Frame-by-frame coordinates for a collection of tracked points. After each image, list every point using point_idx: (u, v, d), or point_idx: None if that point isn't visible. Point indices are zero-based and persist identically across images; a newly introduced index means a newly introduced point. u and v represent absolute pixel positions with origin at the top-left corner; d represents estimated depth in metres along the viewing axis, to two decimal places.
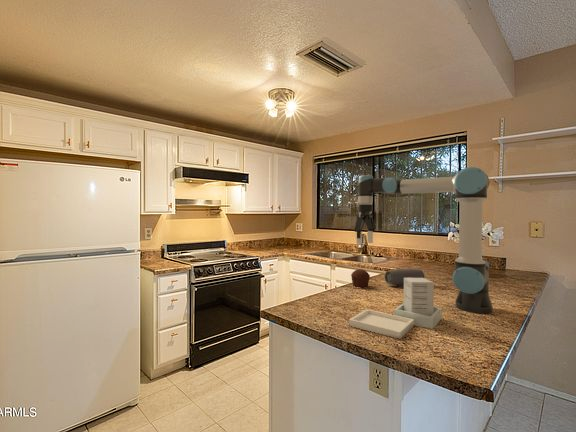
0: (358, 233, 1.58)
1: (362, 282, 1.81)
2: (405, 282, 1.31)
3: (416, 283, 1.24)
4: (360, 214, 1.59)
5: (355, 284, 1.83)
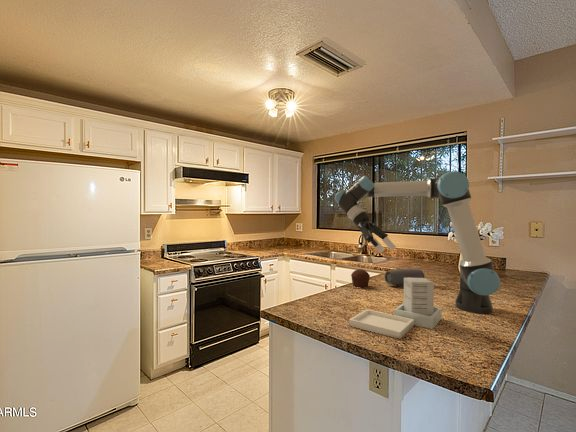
0: (372, 241, 1.35)
1: (362, 282, 1.81)
2: (405, 282, 1.31)
3: (416, 283, 1.24)
4: (360, 224, 1.40)
5: (355, 284, 1.83)
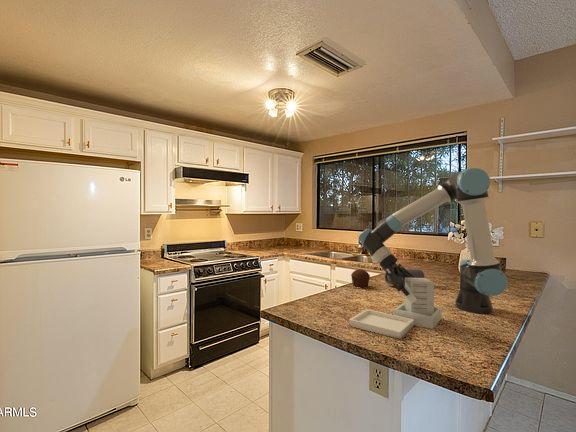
0: (403, 289, 1.24)
1: (362, 282, 1.81)
2: (406, 282, 1.31)
3: (416, 283, 1.24)
4: (388, 269, 1.29)
5: (355, 284, 1.83)
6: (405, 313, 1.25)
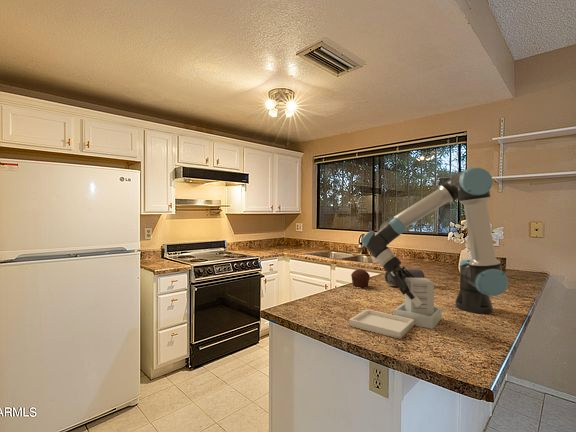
0: (408, 293, 1.23)
1: (362, 282, 1.81)
2: (406, 282, 1.31)
3: (416, 283, 1.24)
4: (393, 272, 1.29)
5: (355, 284, 1.83)
6: (405, 313, 1.25)
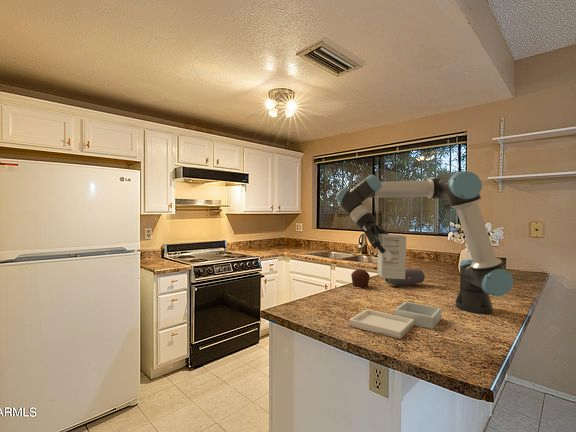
0: (379, 246, 1.18)
1: (362, 282, 1.81)
2: (379, 238, 1.26)
3: (387, 236, 1.19)
4: (365, 227, 1.24)
5: (355, 284, 1.83)
6: (405, 313, 1.25)
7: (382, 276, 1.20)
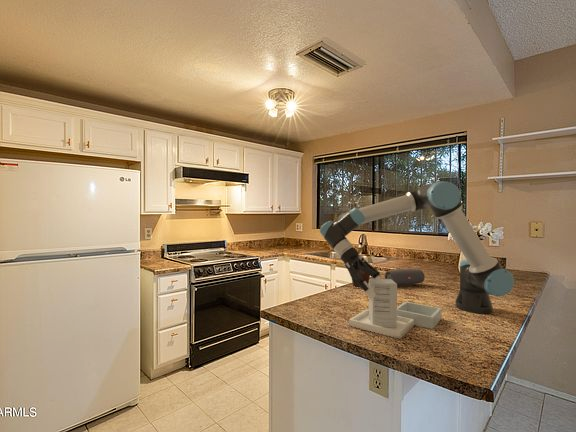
0: (362, 284, 1.17)
1: None
2: (370, 283, 1.24)
3: (378, 284, 1.17)
4: (348, 263, 1.22)
5: None
6: (405, 313, 1.25)
7: None
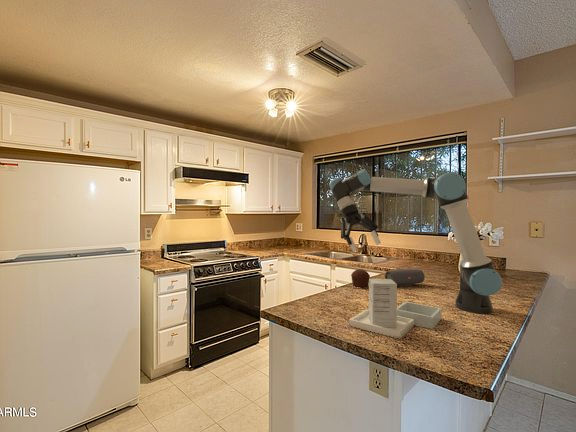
0: (347, 239, 1.39)
1: (362, 282, 1.81)
2: (369, 283, 1.24)
3: (378, 284, 1.17)
4: (341, 219, 1.42)
5: (355, 284, 1.83)
6: (405, 313, 1.25)
7: None
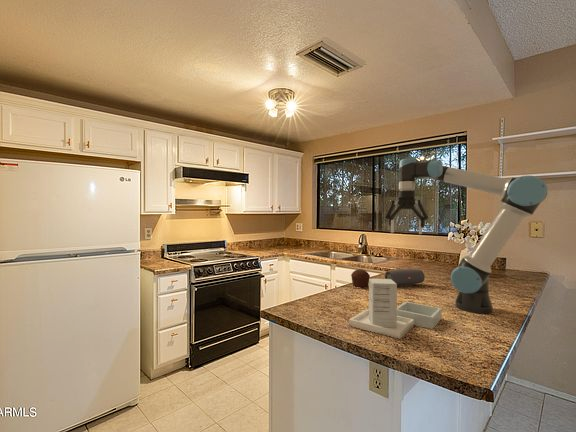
0: None
1: (362, 282, 1.81)
2: (369, 283, 1.24)
3: (378, 284, 1.17)
4: None
5: (355, 284, 1.83)
6: (405, 313, 1.25)
7: None
